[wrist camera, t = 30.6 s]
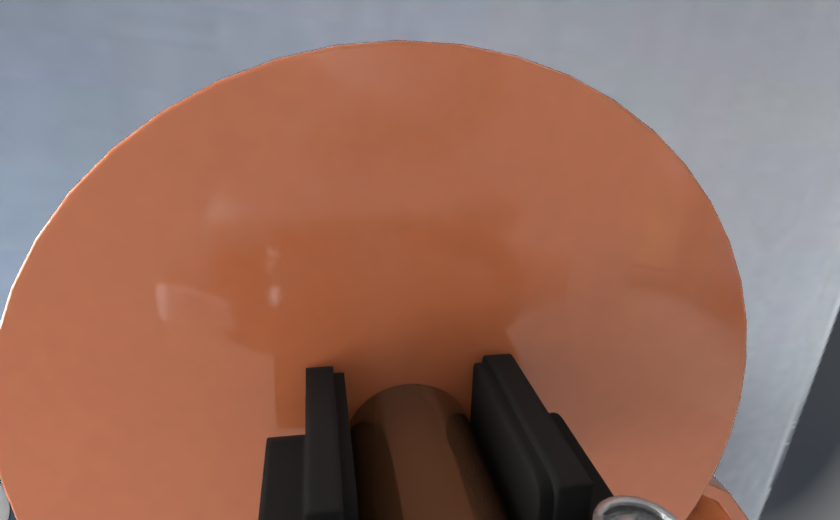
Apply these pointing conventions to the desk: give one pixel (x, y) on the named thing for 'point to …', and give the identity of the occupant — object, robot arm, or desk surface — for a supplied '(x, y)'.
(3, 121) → the desk surface
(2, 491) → the white muffin tray
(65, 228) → the pot lid
